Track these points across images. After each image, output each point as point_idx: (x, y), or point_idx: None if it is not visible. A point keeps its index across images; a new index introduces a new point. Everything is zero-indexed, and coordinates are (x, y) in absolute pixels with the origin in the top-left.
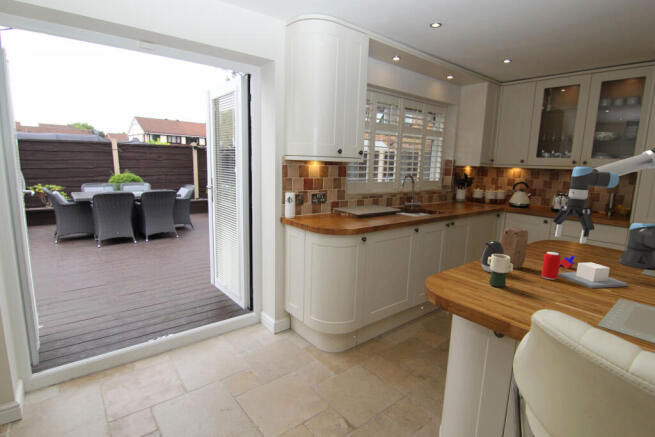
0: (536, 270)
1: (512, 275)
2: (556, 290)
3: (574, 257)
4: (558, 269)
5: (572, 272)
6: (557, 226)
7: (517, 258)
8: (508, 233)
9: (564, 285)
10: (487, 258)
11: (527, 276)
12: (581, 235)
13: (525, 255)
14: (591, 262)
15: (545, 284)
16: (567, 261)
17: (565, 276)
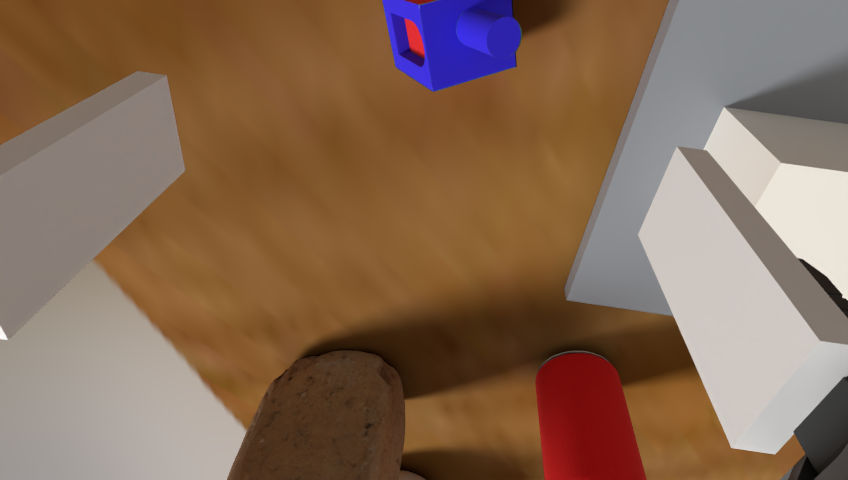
0: (446, 316)
1: (473, 461)
2: (689, 464)
3: (519, 37)
4: (631, 424)
5: (612, 195)
6: (32, 296)
7: (400, 463)
8: None
9: (681, 394)
10: None
11: (508, 425)
12: (691, 337)
13: (385, 429)
14: (778, 170)
15: None
16: (478, 77)
17: (626, 305)
